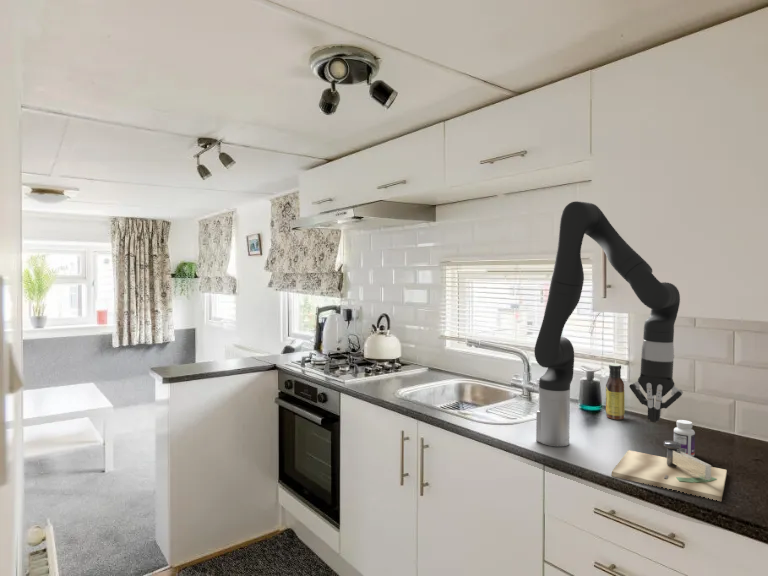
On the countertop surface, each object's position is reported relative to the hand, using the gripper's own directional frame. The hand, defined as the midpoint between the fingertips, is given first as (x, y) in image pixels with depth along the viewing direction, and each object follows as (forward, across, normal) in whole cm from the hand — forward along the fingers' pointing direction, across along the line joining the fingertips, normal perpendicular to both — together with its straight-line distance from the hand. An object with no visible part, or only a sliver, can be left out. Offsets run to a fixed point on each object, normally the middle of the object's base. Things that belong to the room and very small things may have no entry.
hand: (653, 421), depth 133 cm
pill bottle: (+14, +5, +20) cm, 25 cm away
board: (+14, +4, +1) cm, 14 cm away
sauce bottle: (+15, -20, +48) cm, 54 cm away
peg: (+12, +8, +1) cm, 14 cm away
